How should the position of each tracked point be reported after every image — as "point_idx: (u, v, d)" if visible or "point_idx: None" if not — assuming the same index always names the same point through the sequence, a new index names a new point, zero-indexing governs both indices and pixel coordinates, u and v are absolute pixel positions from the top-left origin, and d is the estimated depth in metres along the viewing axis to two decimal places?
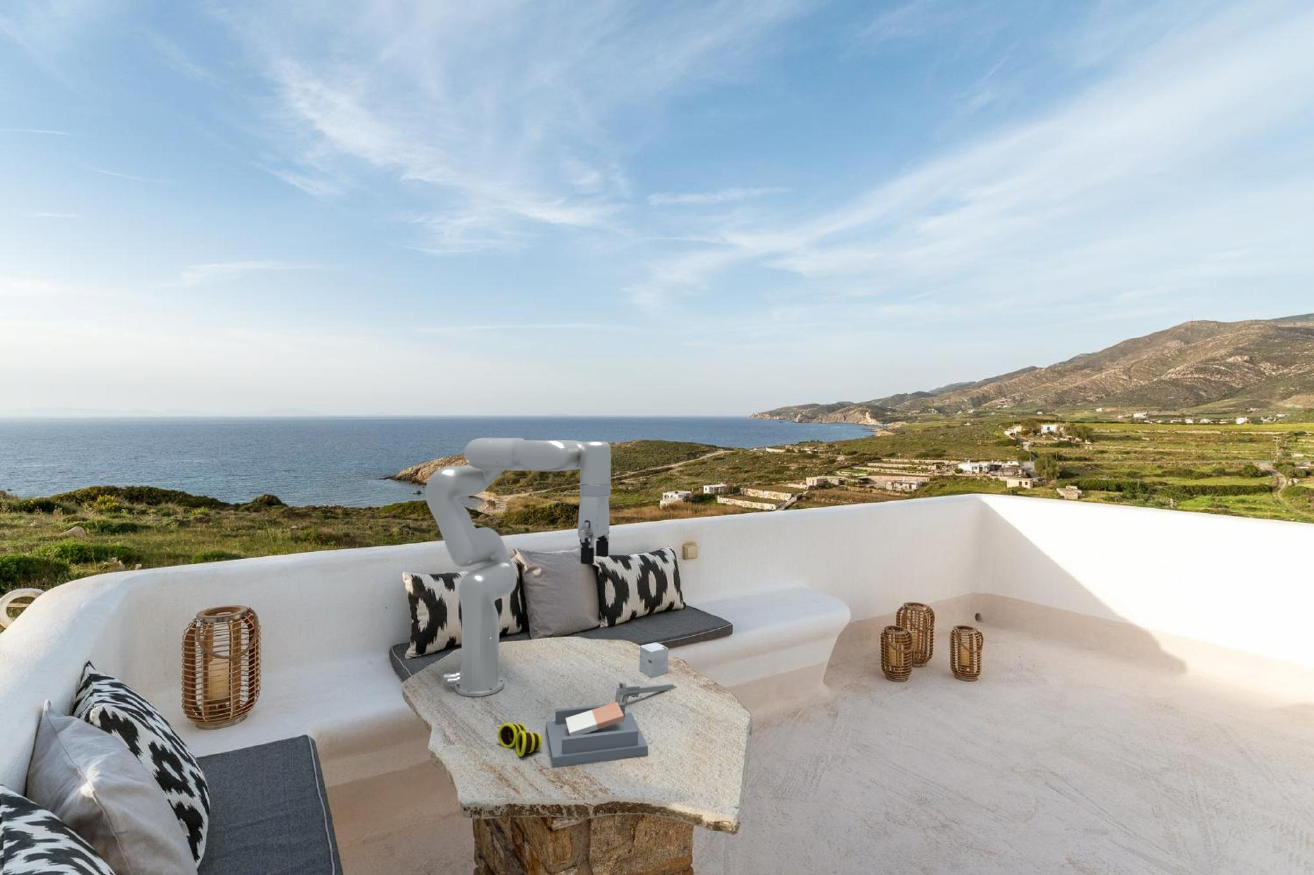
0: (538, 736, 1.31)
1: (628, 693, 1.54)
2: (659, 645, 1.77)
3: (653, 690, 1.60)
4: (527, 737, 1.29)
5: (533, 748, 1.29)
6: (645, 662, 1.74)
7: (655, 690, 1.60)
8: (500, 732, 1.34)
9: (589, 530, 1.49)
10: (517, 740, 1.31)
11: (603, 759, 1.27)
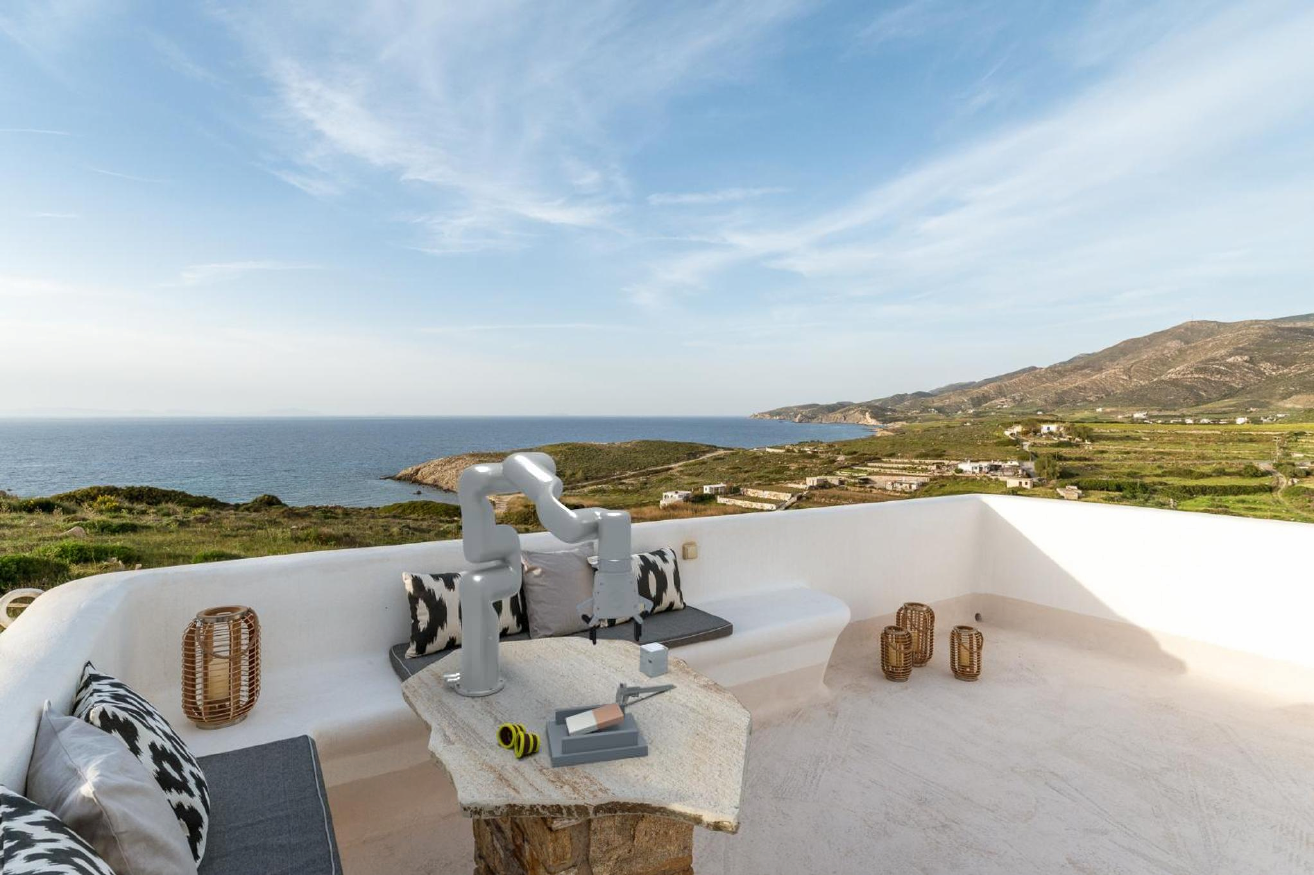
0: (536, 737, 1.31)
1: (628, 693, 1.54)
2: (659, 645, 1.77)
3: (653, 690, 1.60)
4: (525, 738, 1.29)
5: (531, 749, 1.29)
6: (645, 662, 1.74)
7: (655, 690, 1.60)
8: (499, 732, 1.34)
9: None
10: (516, 741, 1.31)
11: (603, 759, 1.27)
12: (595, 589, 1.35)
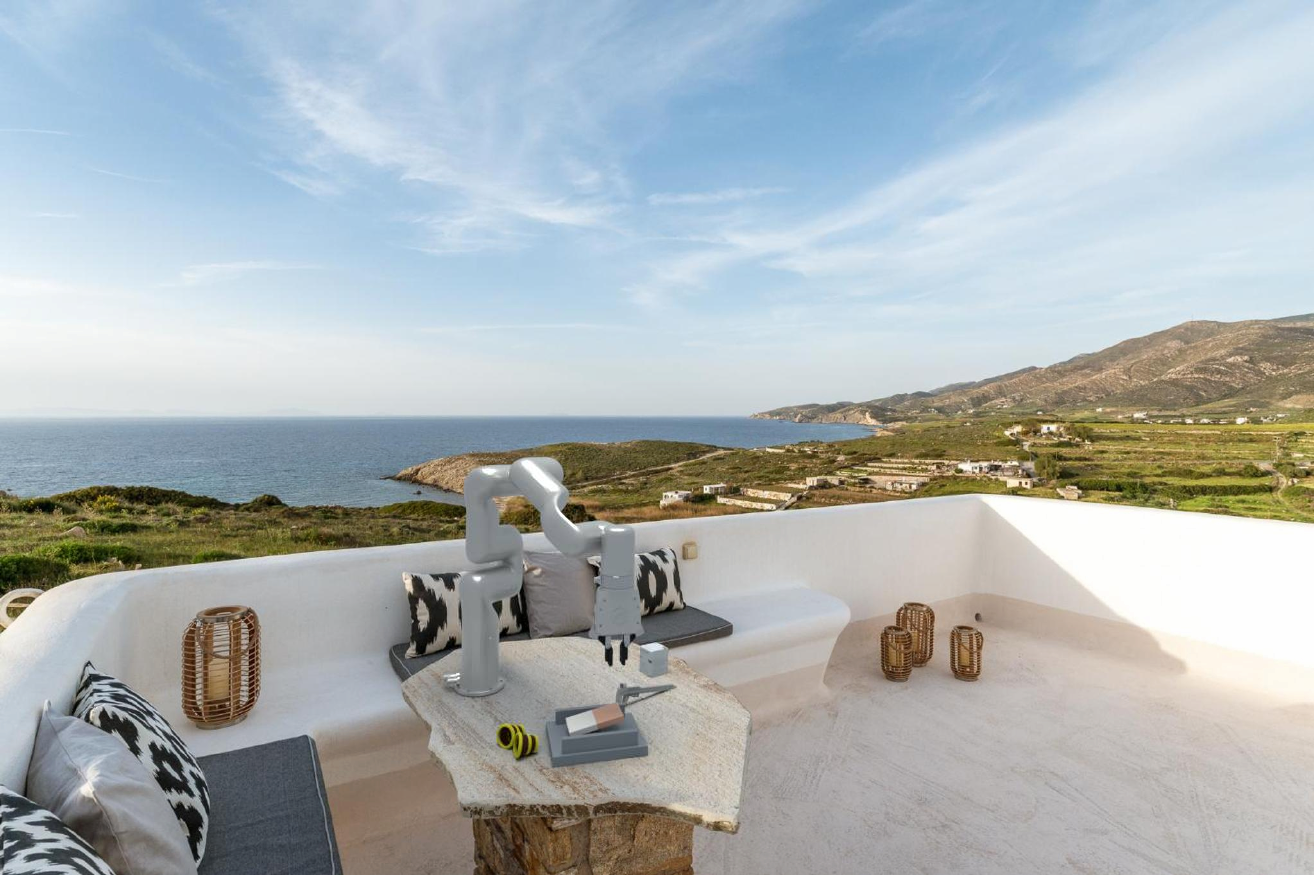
0: (535, 738, 1.30)
1: (628, 693, 1.54)
2: (659, 645, 1.77)
3: (653, 690, 1.60)
4: (524, 738, 1.29)
5: (530, 750, 1.29)
6: (645, 662, 1.74)
7: (655, 690, 1.60)
8: (499, 732, 1.34)
9: None
10: (514, 741, 1.31)
11: (603, 759, 1.27)
12: (598, 606, 1.33)
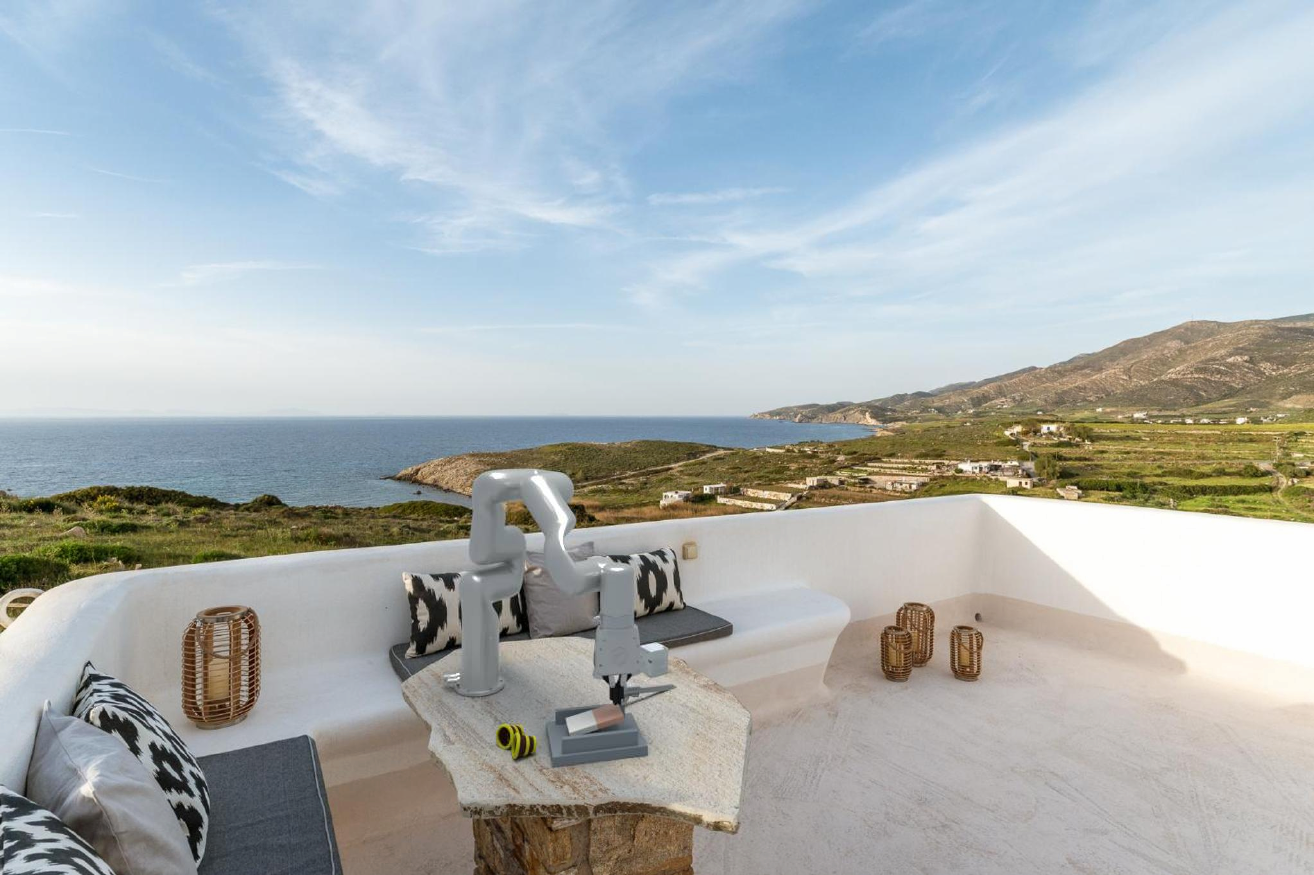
0: (533, 739, 1.30)
1: (629, 693, 1.54)
2: (659, 645, 1.77)
3: (653, 690, 1.60)
4: (521, 739, 1.28)
5: (527, 751, 1.28)
6: (645, 662, 1.74)
7: (655, 690, 1.60)
8: (498, 733, 1.34)
9: None
10: (513, 742, 1.31)
11: (603, 759, 1.27)
12: (598, 645, 1.33)
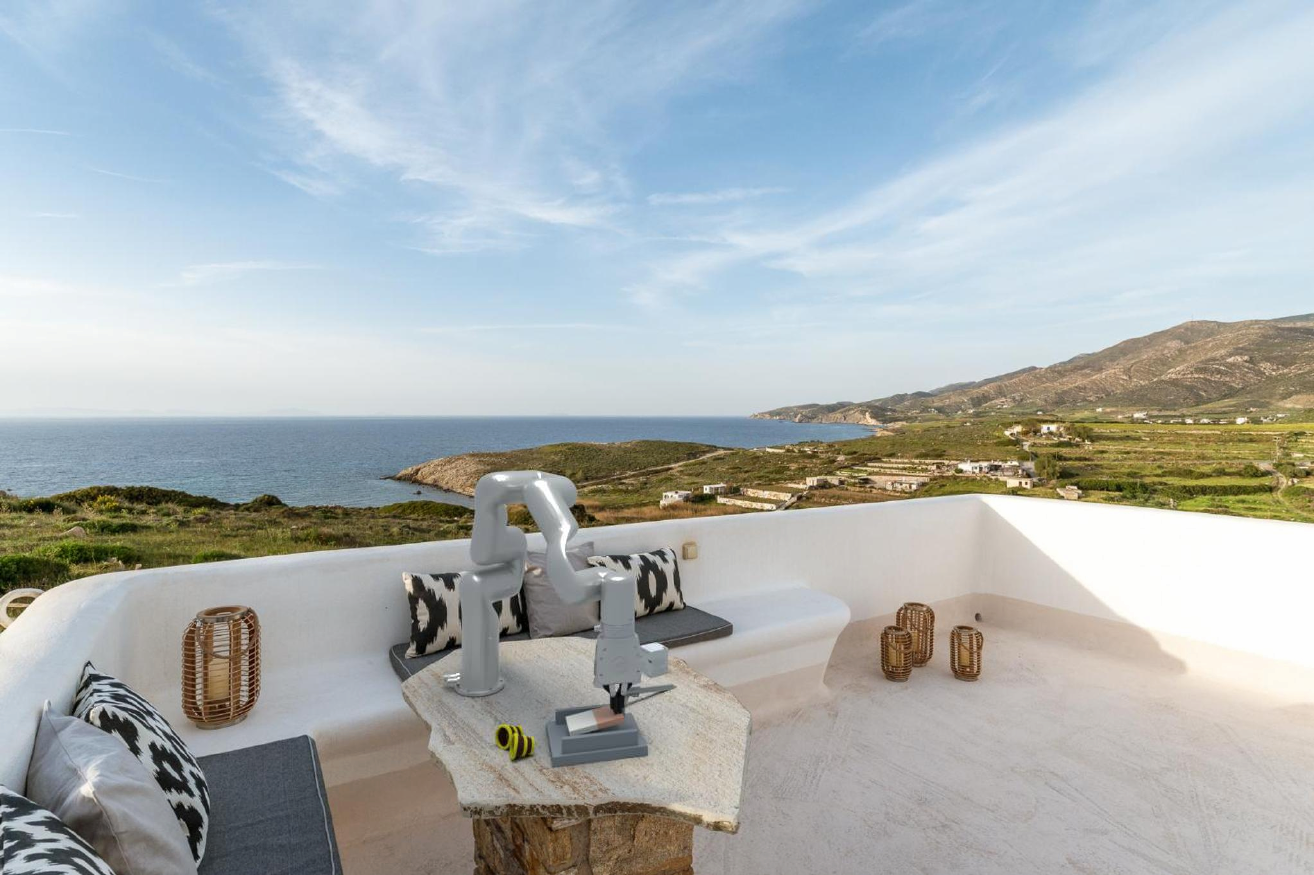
0: (532, 740, 1.30)
1: (629, 693, 1.54)
2: (659, 645, 1.77)
3: (653, 690, 1.60)
4: (519, 740, 1.28)
5: (525, 752, 1.28)
6: (645, 662, 1.74)
7: (655, 690, 1.60)
8: (497, 733, 1.33)
9: None
10: (511, 742, 1.30)
11: (603, 759, 1.27)
12: (598, 655, 1.33)
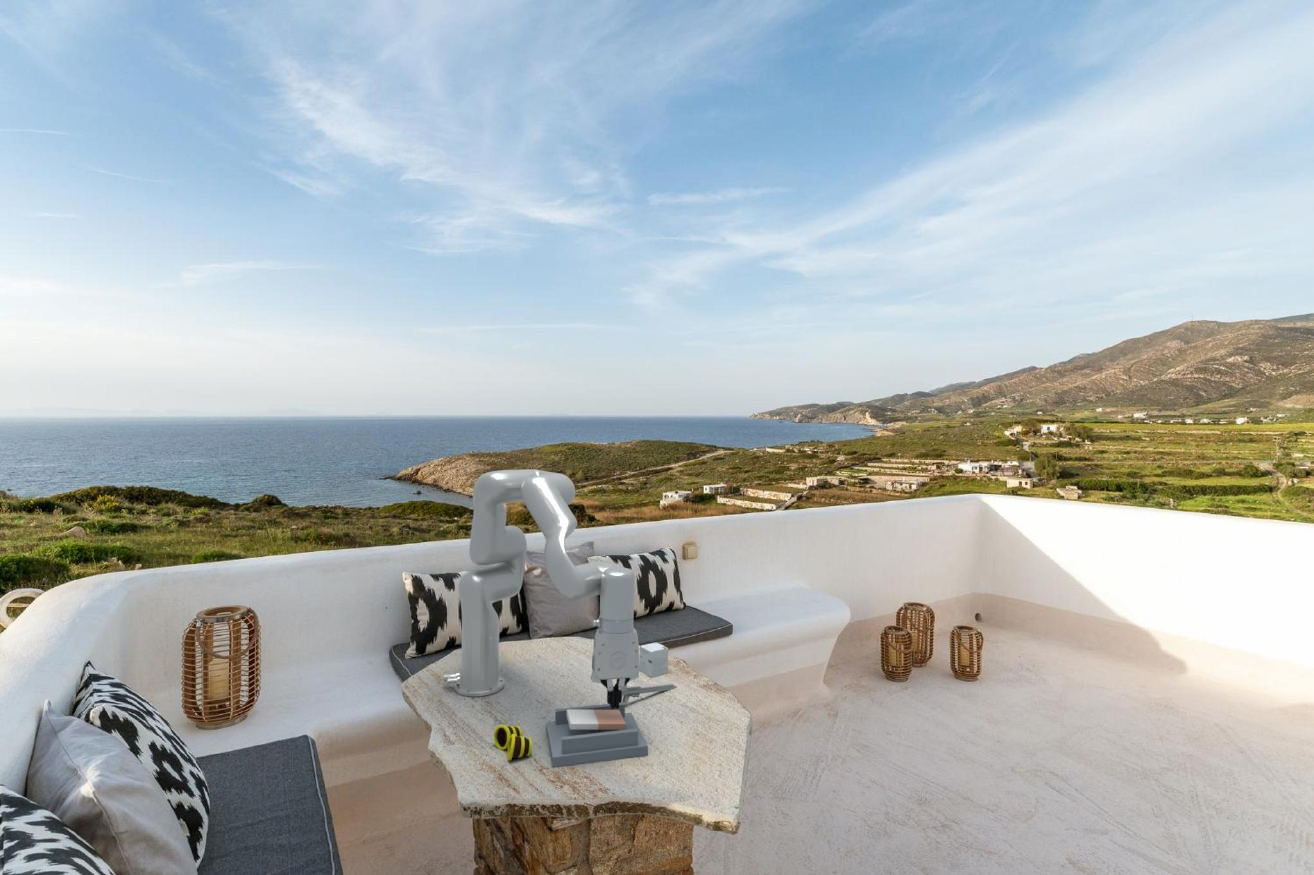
0: (529, 741, 1.29)
1: (629, 693, 1.54)
2: (659, 645, 1.77)
3: (654, 690, 1.60)
4: (516, 741, 1.28)
5: (522, 753, 1.27)
6: (645, 662, 1.74)
7: (655, 690, 1.60)
8: (496, 733, 1.33)
9: None
10: (509, 743, 1.30)
11: (603, 759, 1.27)
12: (596, 649, 1.33)
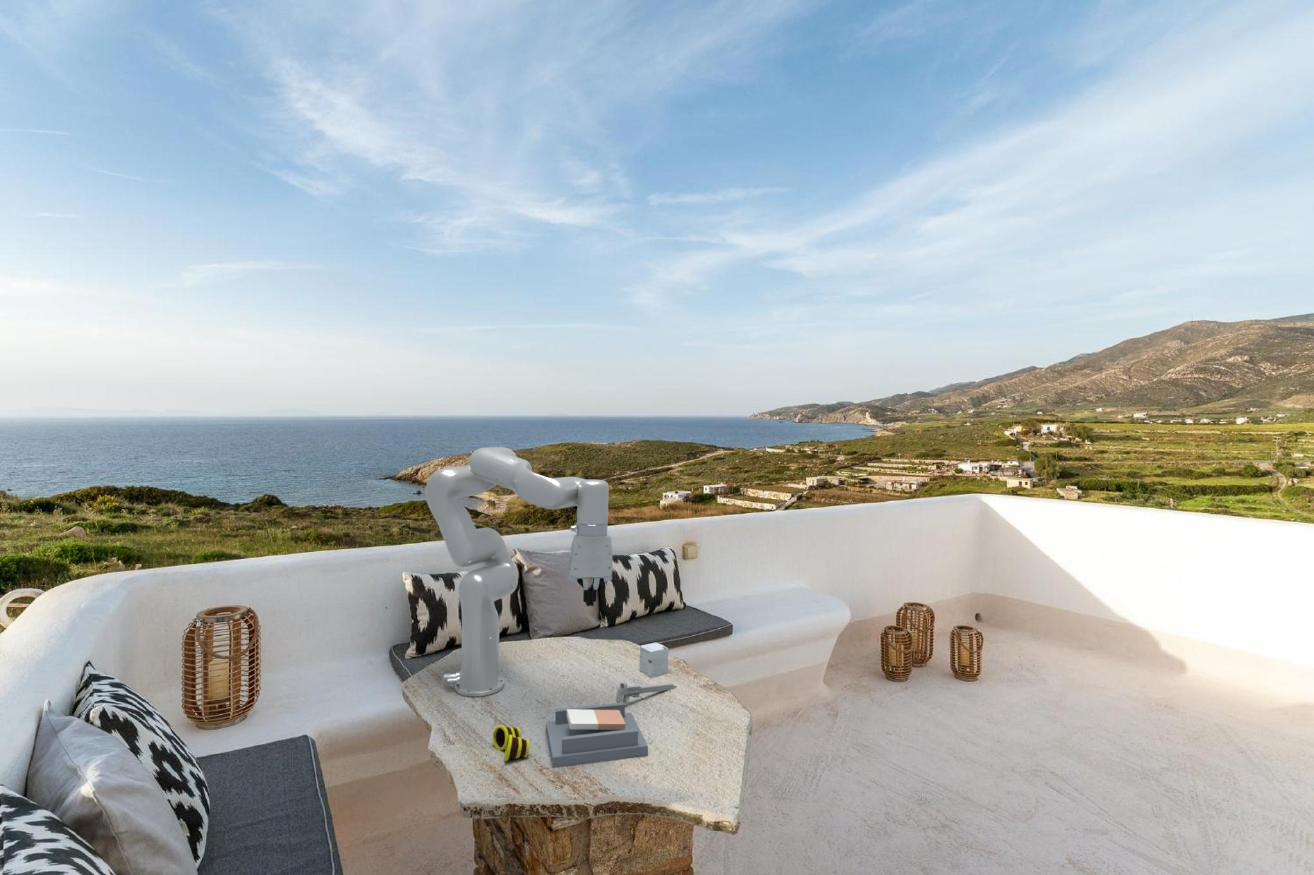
0: (526, 742, 1.29)
1: (629, 693, 1.54)
2: (659, 645, 1.77)
3: (654, 690, 1.60)
4: (513, 742, 1.27)
5: (519, 754, 1.27)
6: (645, 662, 1.74)
7: (656, 690, 1.60)
8: (495, 733, 1.33)
9: None
10: (507, 744, 1.30)
11: (603, 759, 1.27)
12: (573, 551, 1.47)
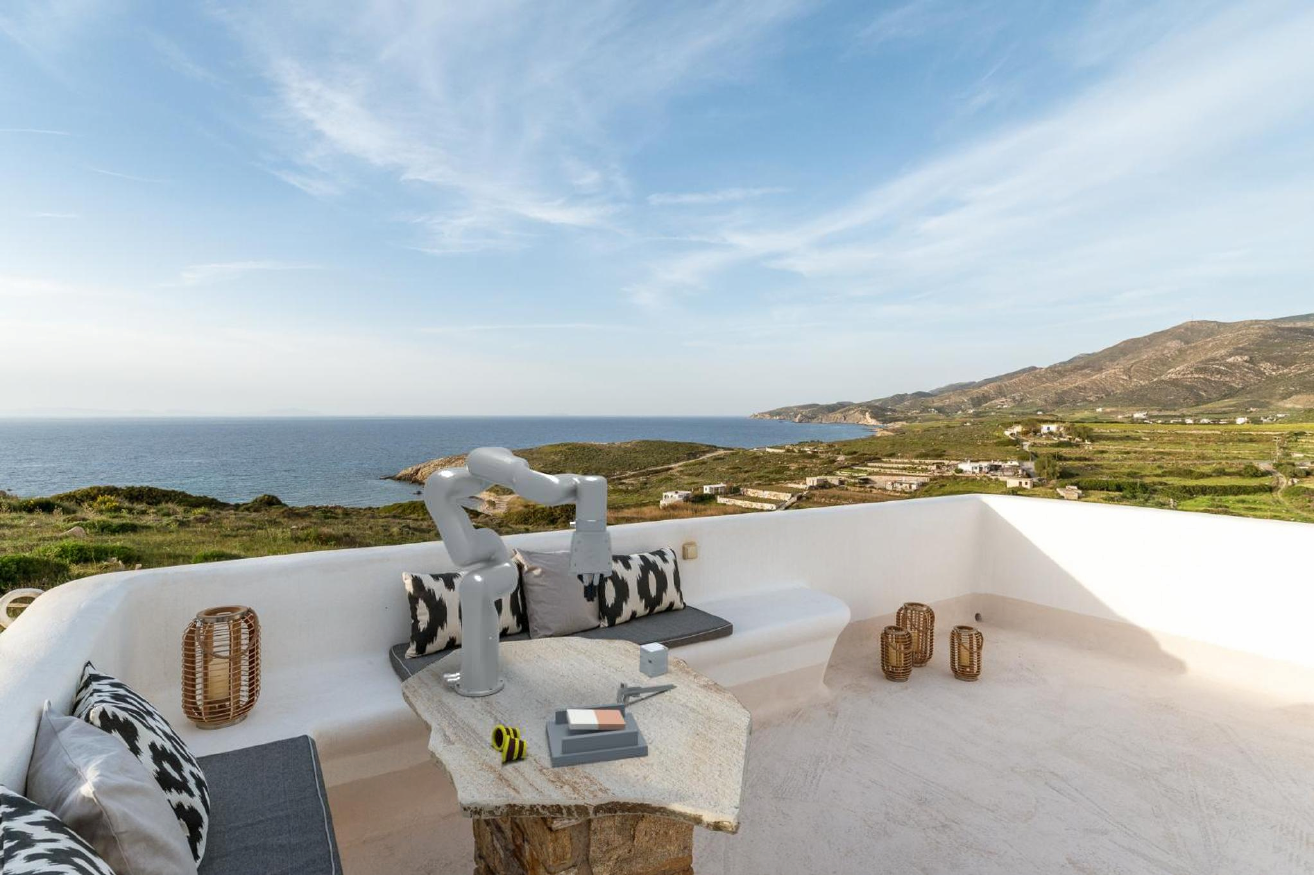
0: (524, 743, 1.28)
1: (629, 693, 1.54)
2: (659, 645, 1.77)
3: (654, 690, 1.60)
4: (510, 743, 1.27)
5: (516, 755, 1.27)
6: (645, 662, 1.74)
7: (656, 690, 1.60)
8: (494, 733, 1.33)
9: None
10: (505, 744, 1.29)
11: (603, 759, 1.27)
12: (573, 547, 1.47)
